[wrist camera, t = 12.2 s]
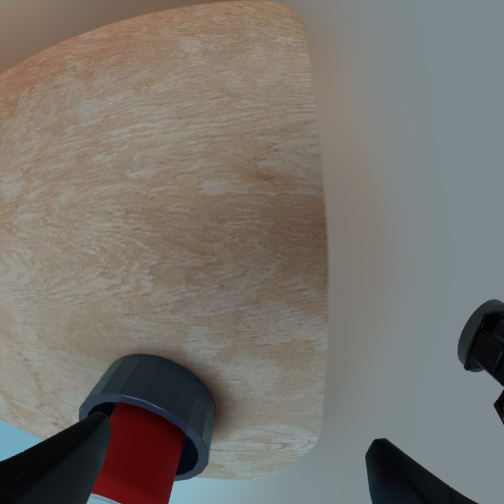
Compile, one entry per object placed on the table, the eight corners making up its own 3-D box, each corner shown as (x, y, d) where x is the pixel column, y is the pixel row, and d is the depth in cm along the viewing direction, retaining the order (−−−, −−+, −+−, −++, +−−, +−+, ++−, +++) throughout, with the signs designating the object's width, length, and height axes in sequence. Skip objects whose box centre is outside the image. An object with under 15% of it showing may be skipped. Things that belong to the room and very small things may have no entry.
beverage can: (204, 421, 22) (182, 536, 10) (151, 434, 23) (115, 531, 11) (163, 371, 21) (110, 490, 9) (111, 389, 22) (52, 485, 10)
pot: (219, 365, 22) (210, 412, 16) (213, 447, 24) (207, 489, 18) (97, 342, 21) (65, 377, 16) (113, 426, 24) (94, 461, 18)
